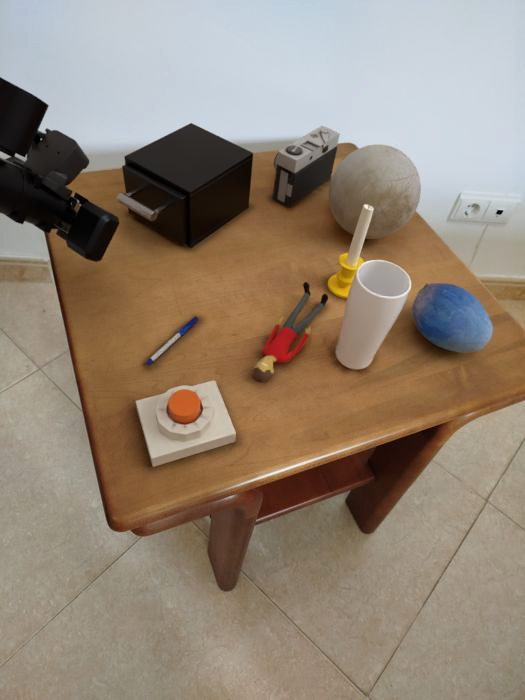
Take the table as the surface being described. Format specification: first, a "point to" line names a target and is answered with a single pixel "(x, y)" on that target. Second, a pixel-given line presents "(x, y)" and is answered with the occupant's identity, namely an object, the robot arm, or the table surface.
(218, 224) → the black cabinet
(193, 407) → the button
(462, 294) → the egg
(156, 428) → the button block
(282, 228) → the table surface
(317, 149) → the camera
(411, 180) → the decorative sphere
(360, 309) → the drinking glass
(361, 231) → the candle
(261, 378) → the person figure
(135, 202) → the drawer
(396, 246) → the table surface
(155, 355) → the ballpoint pen
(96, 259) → the robot arm
